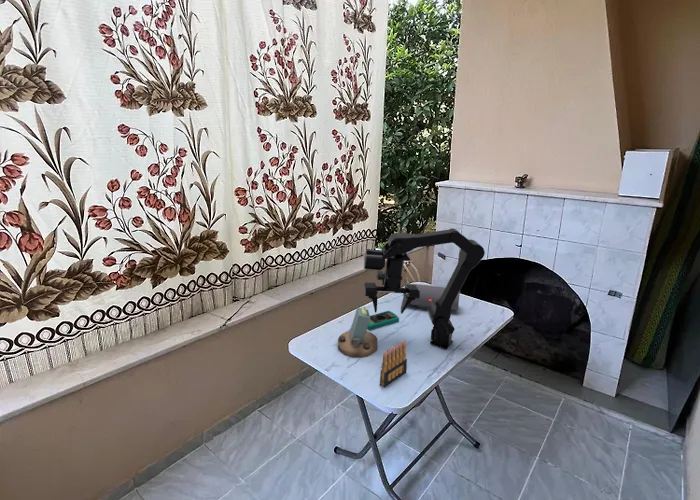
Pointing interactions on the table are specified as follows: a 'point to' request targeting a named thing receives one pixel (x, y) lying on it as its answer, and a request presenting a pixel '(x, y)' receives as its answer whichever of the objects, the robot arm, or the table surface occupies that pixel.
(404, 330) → the table surface
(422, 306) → the bluetooth speaker
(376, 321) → the digital multimeter
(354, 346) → the levelling base
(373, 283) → the robot arm
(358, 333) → the post
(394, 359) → the ammunition clip
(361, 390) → the table surface
